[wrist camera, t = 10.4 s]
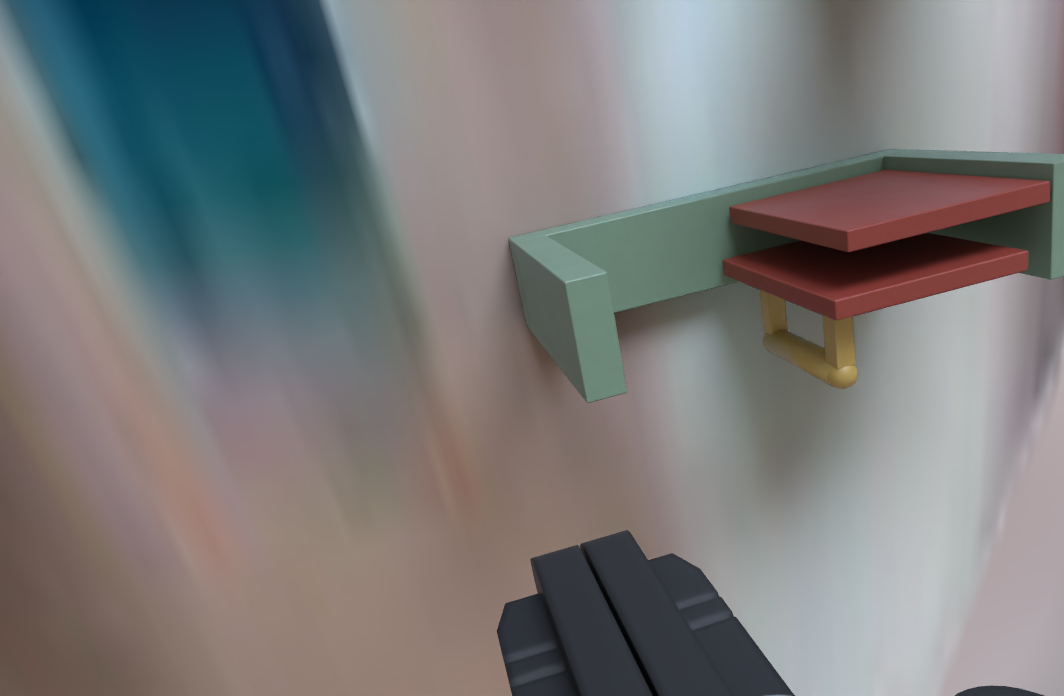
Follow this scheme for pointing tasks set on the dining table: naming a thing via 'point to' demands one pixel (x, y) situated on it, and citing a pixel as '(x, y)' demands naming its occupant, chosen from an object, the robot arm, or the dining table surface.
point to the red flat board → (858, 288)
